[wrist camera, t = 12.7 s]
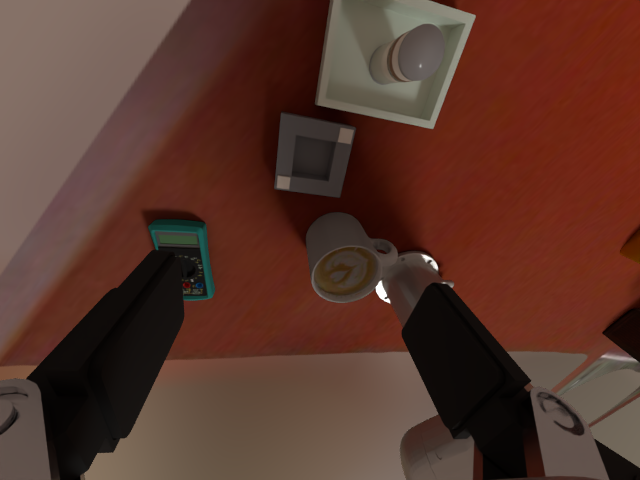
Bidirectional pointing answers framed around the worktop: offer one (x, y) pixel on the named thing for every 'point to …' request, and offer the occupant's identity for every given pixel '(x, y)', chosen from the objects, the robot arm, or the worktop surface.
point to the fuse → (408, 56)
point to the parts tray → (370, 33)
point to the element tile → (632, 248)
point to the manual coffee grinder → (626, 333)
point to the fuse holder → (312, 155)
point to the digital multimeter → (187, 254)
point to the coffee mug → (345, 258)
